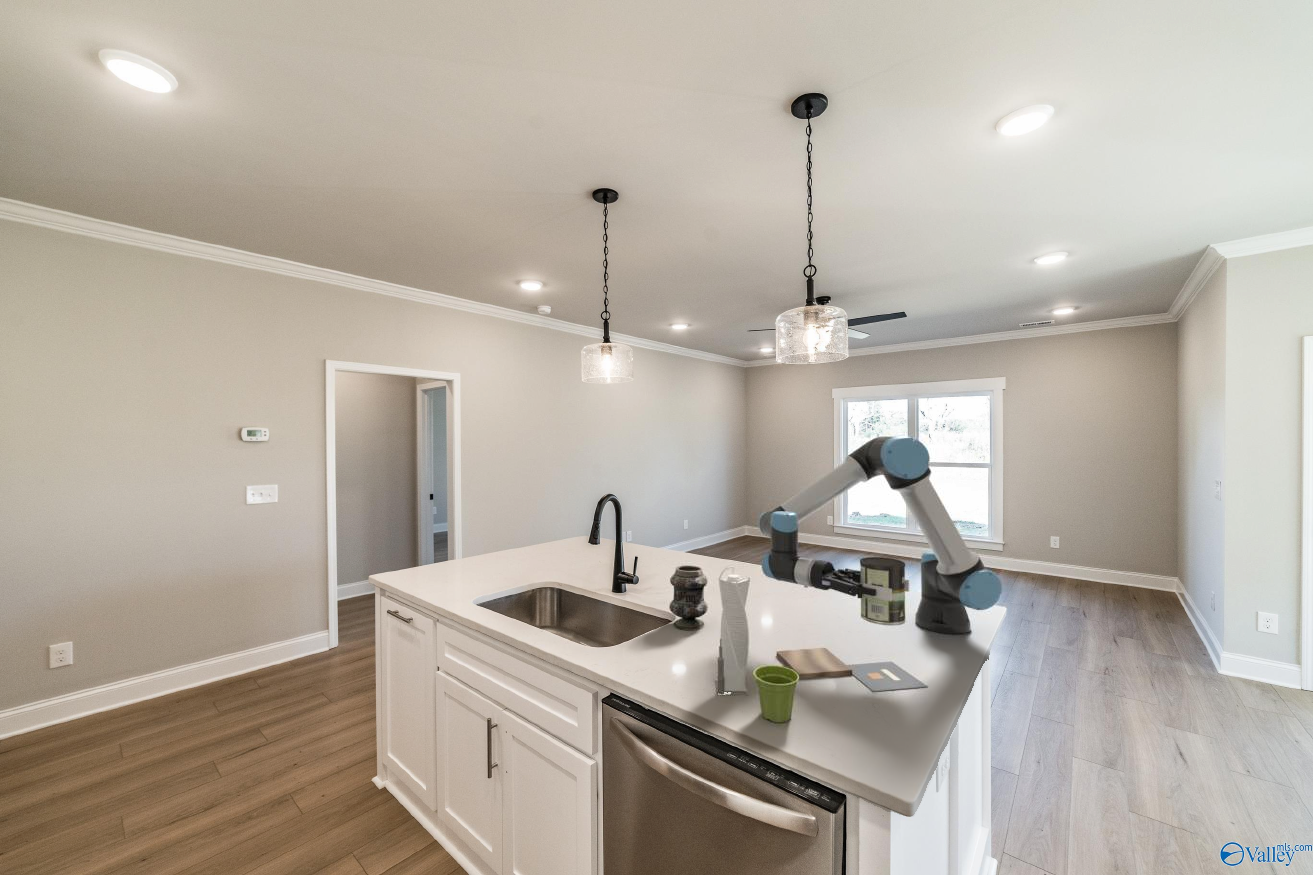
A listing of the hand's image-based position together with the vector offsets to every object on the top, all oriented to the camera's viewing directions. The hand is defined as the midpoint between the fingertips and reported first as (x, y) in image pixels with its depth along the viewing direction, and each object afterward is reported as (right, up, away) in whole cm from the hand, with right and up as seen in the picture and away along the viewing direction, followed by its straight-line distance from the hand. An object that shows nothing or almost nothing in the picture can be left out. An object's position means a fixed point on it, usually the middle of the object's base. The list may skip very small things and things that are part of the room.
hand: (900, 590), depth 125 cm
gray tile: (-3, -22, +3) cm, 22 cm away
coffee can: (-3, -8, +3) cm, 9 cm away
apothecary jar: (-49, -23, +39) cm, 66 cm away
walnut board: (-18, -22, +10) cm, 30 cm away
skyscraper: (-41, -23, -2) cm, 46 cm away
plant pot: (-33, -22, -15) cm, 43 cm away
